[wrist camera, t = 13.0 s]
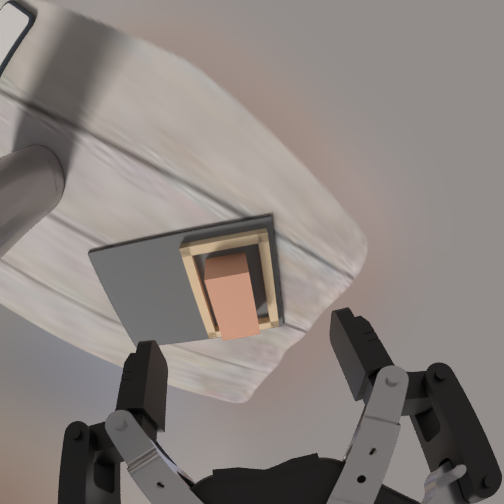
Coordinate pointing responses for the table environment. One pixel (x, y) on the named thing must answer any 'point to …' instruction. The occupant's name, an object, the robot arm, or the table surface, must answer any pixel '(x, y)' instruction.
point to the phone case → (12, 30)
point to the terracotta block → (231, 295)
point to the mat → (186, 280)
